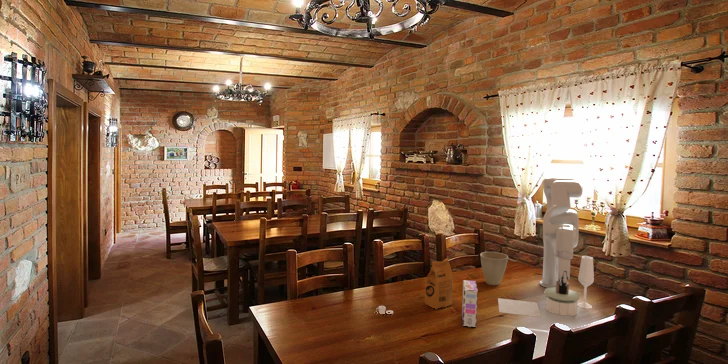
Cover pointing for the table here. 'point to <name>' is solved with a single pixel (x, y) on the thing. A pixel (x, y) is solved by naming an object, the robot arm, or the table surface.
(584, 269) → the champagne flute
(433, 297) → the coffee package
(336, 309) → the table surface
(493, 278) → the plant pot
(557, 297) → the lid
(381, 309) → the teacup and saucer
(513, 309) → the mat
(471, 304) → the candy box
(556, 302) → the bowl
